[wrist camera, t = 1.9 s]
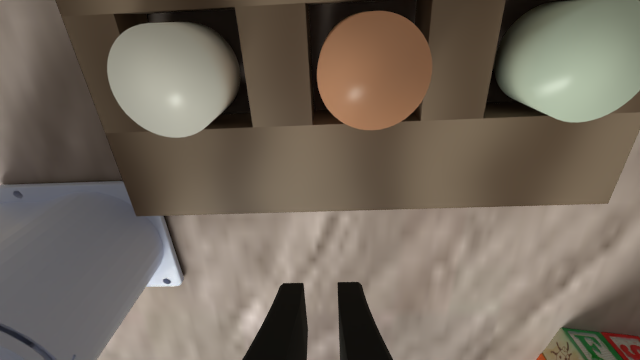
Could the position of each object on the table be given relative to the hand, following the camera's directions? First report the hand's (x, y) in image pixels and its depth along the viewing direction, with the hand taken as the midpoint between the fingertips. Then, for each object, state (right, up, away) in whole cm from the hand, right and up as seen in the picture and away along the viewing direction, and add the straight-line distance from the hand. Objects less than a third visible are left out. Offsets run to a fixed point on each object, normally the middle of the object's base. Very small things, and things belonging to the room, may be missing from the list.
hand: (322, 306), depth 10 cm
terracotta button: (+2, +9, +4) cm, 10 cm away
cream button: (-6, +9, +4) cm, 11 cm away
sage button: (+9, +9, +4) cm, 14 cm away
